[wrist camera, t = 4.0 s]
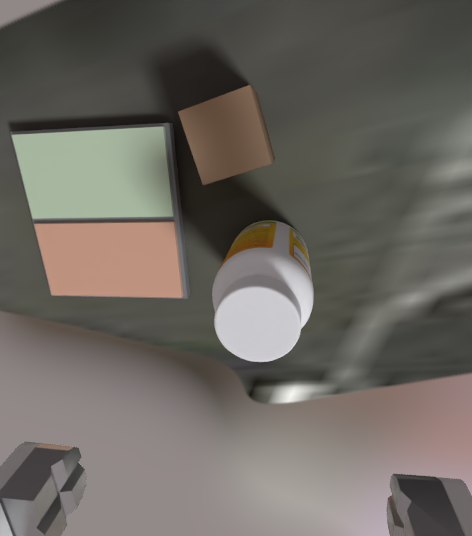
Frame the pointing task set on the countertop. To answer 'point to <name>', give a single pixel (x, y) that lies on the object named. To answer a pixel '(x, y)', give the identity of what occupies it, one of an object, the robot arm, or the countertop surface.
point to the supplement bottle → (263, 292)
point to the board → (106, 209)
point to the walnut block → (227, 135)
